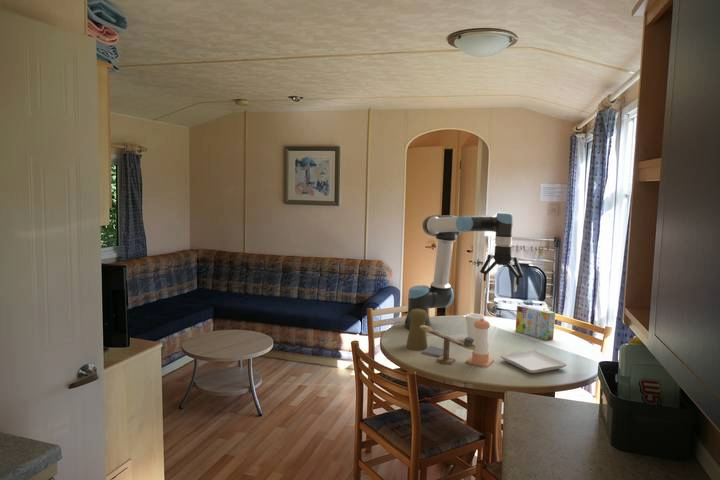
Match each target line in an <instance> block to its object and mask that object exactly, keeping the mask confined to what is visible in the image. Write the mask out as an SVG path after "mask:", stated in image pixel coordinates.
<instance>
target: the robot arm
mask: <svg viewBox="0 0 720 480" xmlns="http://www.w3.org/2000/svg"><path fill="white" fill-rule="evenodd" d="M421 225H422V226H421V227H422V230H423V232H424V233H425V234H426V235H428V236H431V237H435V239H436V240H437V248H436V256H435V257H436V258H435V266H434V274H433V275H434V276H433V281H432V282H431V283H430V286H428V285H424V284H423V285H421V284H419V285H415V286H412V287H410V288H409V289H408V294H407V297H408V298H407V300H408V301H407V314H406V317H405V320H404V322H403V324H404V325H403V326H404V328H405V329H407V330H409V328H410V322H411V320H410V319H409V312H410V311H411V310H412V309H423V310H425V311H426V312H427V320H426V321H425V325H426V326H429V327H431V328H432V323H431V319H430V315H429V309H437V308H438V309H439V308H441V309H442V308H443V309H444V308H448V307H450V306H451V305H452V303H453V302H454V299H455V293H454V290H453V288H452V285H451V284H450V282H449V281H450V275H451V267H452V258H453V257H452V256H453V248H454V247H453V246H454V243H455V242H456V241H457V237H459V236H460V235H461V234H462V232H463V233H464V232H493V233H494V232H495V238H494V239H495V241H494V242H495V246H494V254H491V253H489V254H488V255H487V257H486V260H485V262H484V263H483V265H482V267H481V269H480V270H479V272H480V273H481V274H483V282H484V284H485V285H484V288H485V289H488V288H489V285H490V284H489V283H490V274H489V272H491V270H493V269H494V268H495V267H496V265H498V266H507V267H508V268H509V270H510V271H511V273H512V274H513V275H514V276H515V277H514V280H513V282H514V283H513V293H516V292H517V291H518V286H519V285H520V279H521V278H524V276H525V275H524V272H523V269H522V267H521V265H520V262H519V257H518V256H512V245H513V244H512V243H513V227H514V215H513V214H512V213H511V212H497V213H496V215H460V216H456V215H450V214H447V215H446V214H445V215H443V214H442V215H440V214H439V215H438V214H436V215H435V214H434V215H429V216H427V217H425V218H424V219H423V221H422V224H421ZM492 259H493V260H494V262H493V263H492V264H491V265H490V266H489V263H490V262H491V260H492ZM511 261H512V262H514V265H515V267H514V266H513V263H511ZM488 266H489V267H488Z"/></svg>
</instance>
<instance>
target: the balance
mask: <svg viewBox="0 0 720 480" xmlns="http://www.w3.org/2000/svg"><path fill="white" fill-rule="evenodd" d="M420 329H422V330H423V331H426V333H429V334H432V335H433V336H436V337H438V338H440V339H443V349H444V350H443V356H440V357H437V358H436V362H438V363H442V364H446V365H453V364H454V363H455V362H456V358H453V357H450V344H451V343H453V344H454V345H458V346H459V347H463V348H465V349H468V350H470V351H473V350H475V348H476V347H475V346H474V341H473V340H474V339H472V338H469V337H468V336H466V337H465V338H464V340H463V342H462V341H460V340H458V339H455V338H452V337H450V336H447V335H446V334H443V333H440V332H438V331H435V330H434V329H433V327H432V326H431V327H429V326H426V325H421V326H420Z"/></svg>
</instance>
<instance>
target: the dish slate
mask: <svg viewBox="0 0 720 480" xmlns="http://www.w3.org/2000/svg"><path fill="white" fill-rule="evenodd" d="M443 350H444V347H437V346H432V345H430V346H427V348H426V349H425V350H422V351H421V354H424V355H428V356H433V357H437V358H439V357H440V356H443Z"/></svg>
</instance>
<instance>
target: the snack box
mask: <svg viewBox="0 0 720 480" xmlns="http://www.w3.org/2000/svg"><path fill="white" fill-rule="evenodd" d="M555 319H556V312H555V311H550V310H548V309H542V308H539V307H538V308H537V307H534V306H529V305H525V304H519V305H517V306H516V320H515V332H517V333H520V334H524V335H528V336H531V337H533V338H539V339H542V340H545V341H552V340H554V331H555Z"/></svg>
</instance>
